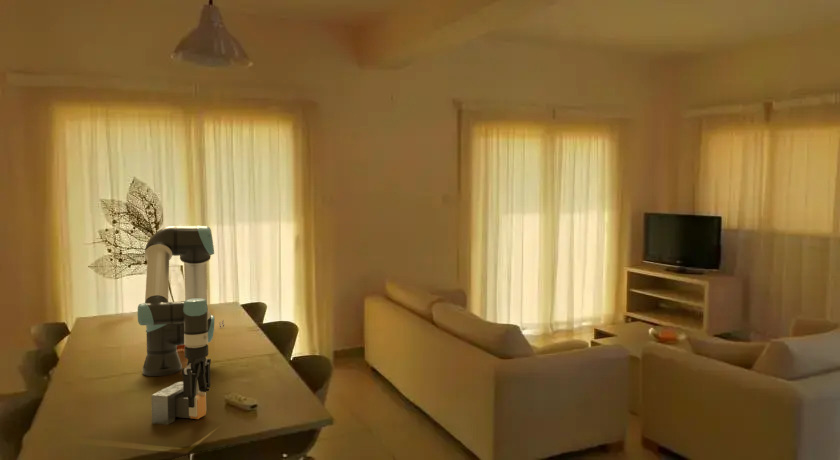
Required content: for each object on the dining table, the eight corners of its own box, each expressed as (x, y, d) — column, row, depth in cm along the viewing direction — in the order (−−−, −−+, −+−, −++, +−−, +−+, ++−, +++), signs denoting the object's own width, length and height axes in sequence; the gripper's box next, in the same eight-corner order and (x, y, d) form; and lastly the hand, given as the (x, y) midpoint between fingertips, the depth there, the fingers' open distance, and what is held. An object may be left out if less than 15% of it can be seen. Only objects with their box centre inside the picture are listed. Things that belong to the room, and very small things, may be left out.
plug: (153, 415, 204) (153, 396, 204) (162, 410, 209) (161, 392, 208) (198, 419, 201) (197, 399, 200) (205, 414, 205) (205, 395, 205)
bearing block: (152, 423, 198) (151, 394, 198) (179, 407, 213) (179, 381, 213) (168, 424, 197) (167, 396, 197) (194, 409, 212) (194, 382, 211)
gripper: (190, 352, 192) (192, 423, 194) (220, 339, 210) (221, 405, 211) (170, 350, 194) (171, 421, 195) (201, 338, 211) (202, 403, 212)
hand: (197, 413), depth 203 cm, fingers closed on plug, 4 cm apart
